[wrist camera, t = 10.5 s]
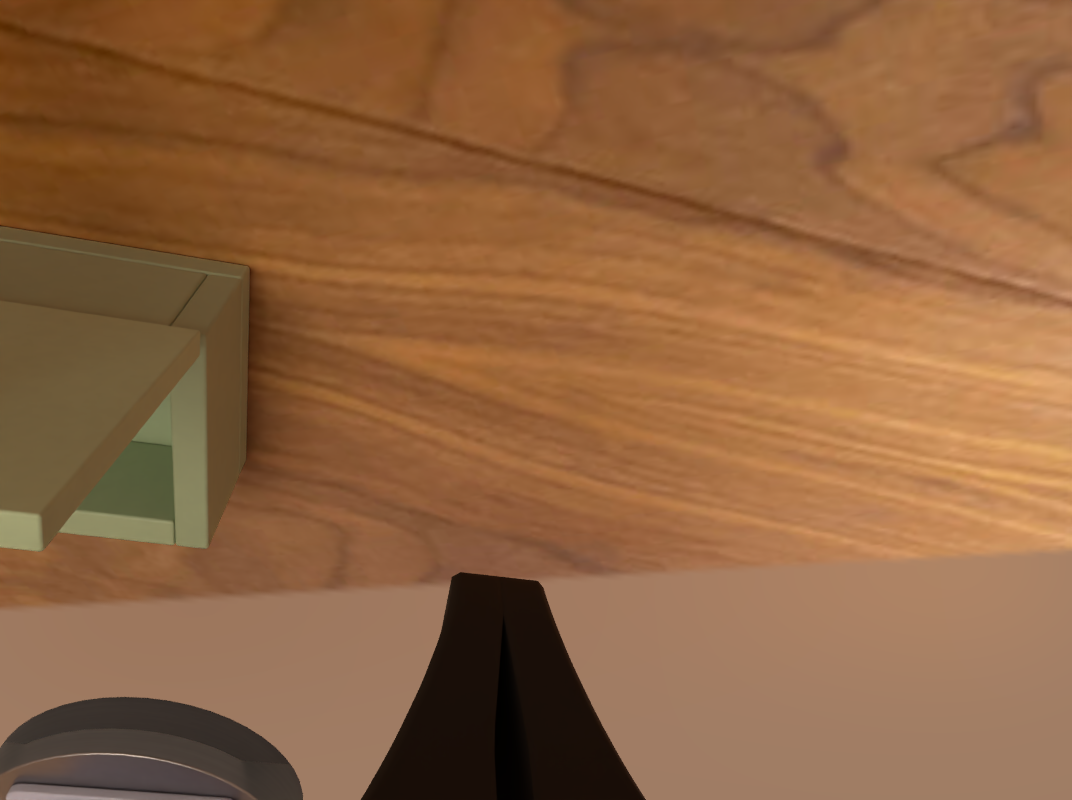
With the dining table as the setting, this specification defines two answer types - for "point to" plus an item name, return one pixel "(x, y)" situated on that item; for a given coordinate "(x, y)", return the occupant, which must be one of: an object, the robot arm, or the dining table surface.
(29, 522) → the lid
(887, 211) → the dining table surface
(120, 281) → the box
